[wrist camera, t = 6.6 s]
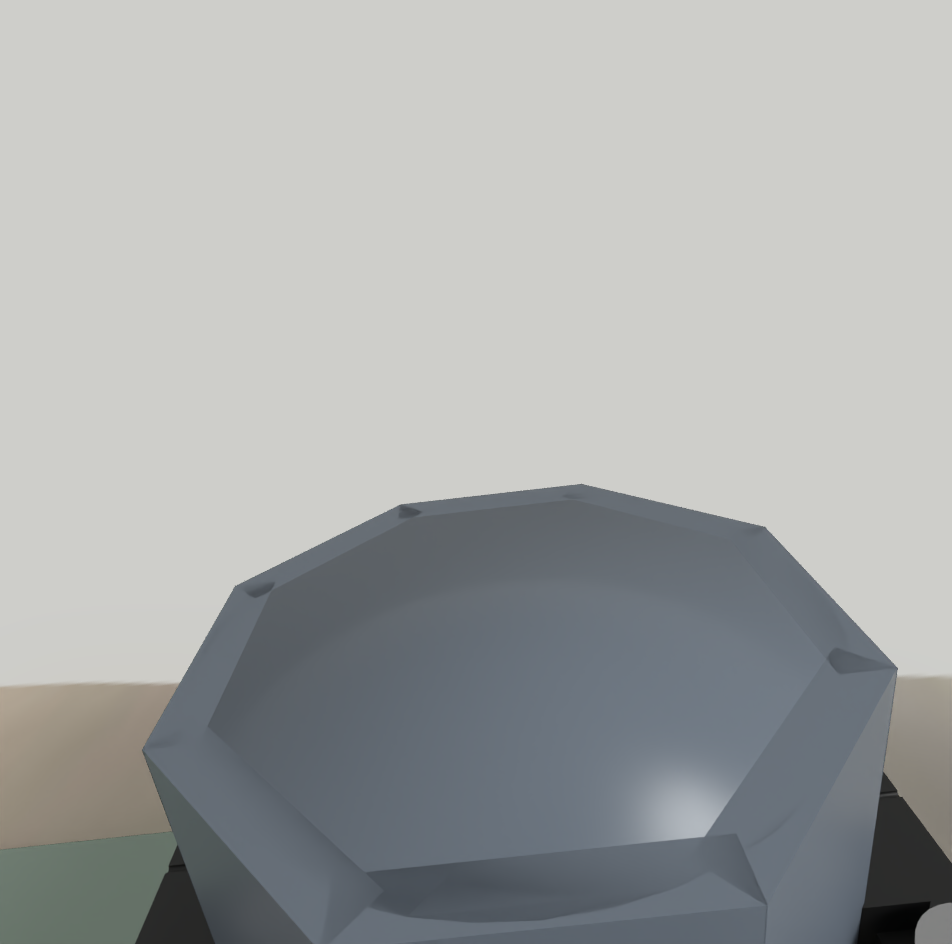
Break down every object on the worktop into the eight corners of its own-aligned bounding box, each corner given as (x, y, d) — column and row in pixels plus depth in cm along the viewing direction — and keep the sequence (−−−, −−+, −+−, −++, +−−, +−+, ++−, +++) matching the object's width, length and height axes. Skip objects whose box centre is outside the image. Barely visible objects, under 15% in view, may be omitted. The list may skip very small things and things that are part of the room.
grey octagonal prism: (703, 929, 14) (710, 469, 10) (895, 1498, 8) (1090, 871, 4) (382, 962, 14) (273, 518, 10) (325, 1547, 8) (8, 984, 4)
